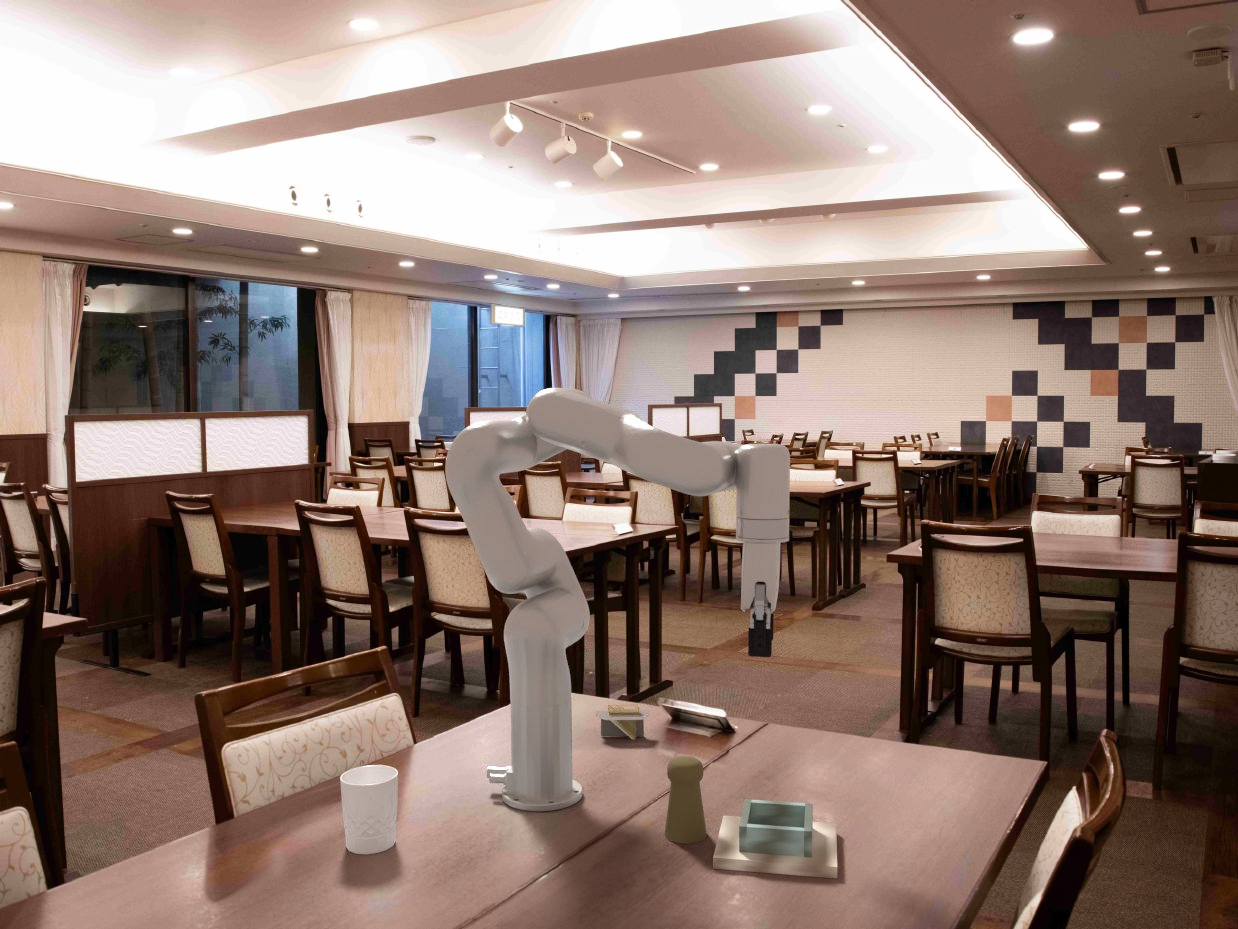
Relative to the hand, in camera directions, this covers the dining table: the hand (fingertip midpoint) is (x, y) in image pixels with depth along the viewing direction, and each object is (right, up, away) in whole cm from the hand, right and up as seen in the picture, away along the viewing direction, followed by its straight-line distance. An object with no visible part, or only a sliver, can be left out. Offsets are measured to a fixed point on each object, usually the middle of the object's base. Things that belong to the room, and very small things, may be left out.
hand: (761, 648), depth 145 cm
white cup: (-55, -27, -4) cm, 62 cm away
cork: (-11, -27, -1) cm, 29 cm away
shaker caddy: (+1, -27, -7) cm, 27 cm away
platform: (-20, -25, +41) cm, 52 cm away
